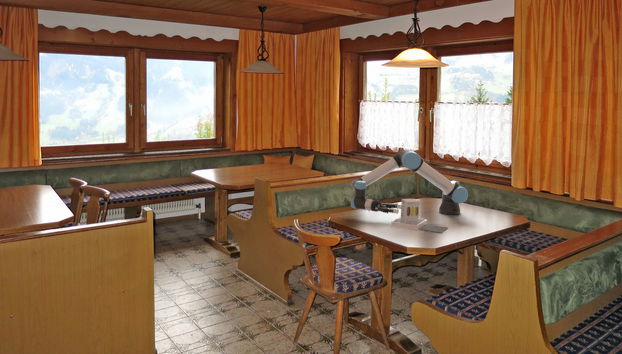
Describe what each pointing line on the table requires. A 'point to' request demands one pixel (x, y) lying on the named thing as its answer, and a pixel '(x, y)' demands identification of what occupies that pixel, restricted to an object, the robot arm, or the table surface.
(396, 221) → the beige square tray
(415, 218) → the supplement box
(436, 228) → the charcoal mat
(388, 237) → the table surface
